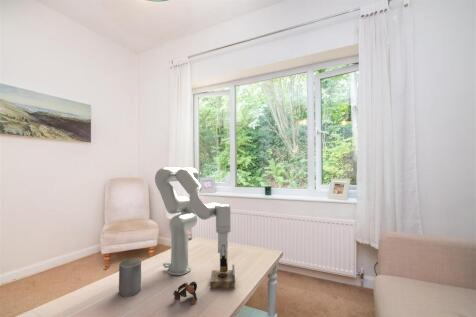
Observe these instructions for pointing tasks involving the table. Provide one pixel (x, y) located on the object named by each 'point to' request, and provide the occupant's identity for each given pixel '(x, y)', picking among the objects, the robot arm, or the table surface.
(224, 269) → the gold cylinder
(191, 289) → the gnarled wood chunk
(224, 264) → the robot arm
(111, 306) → the table surface
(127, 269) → the pillar candle
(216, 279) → the jig
